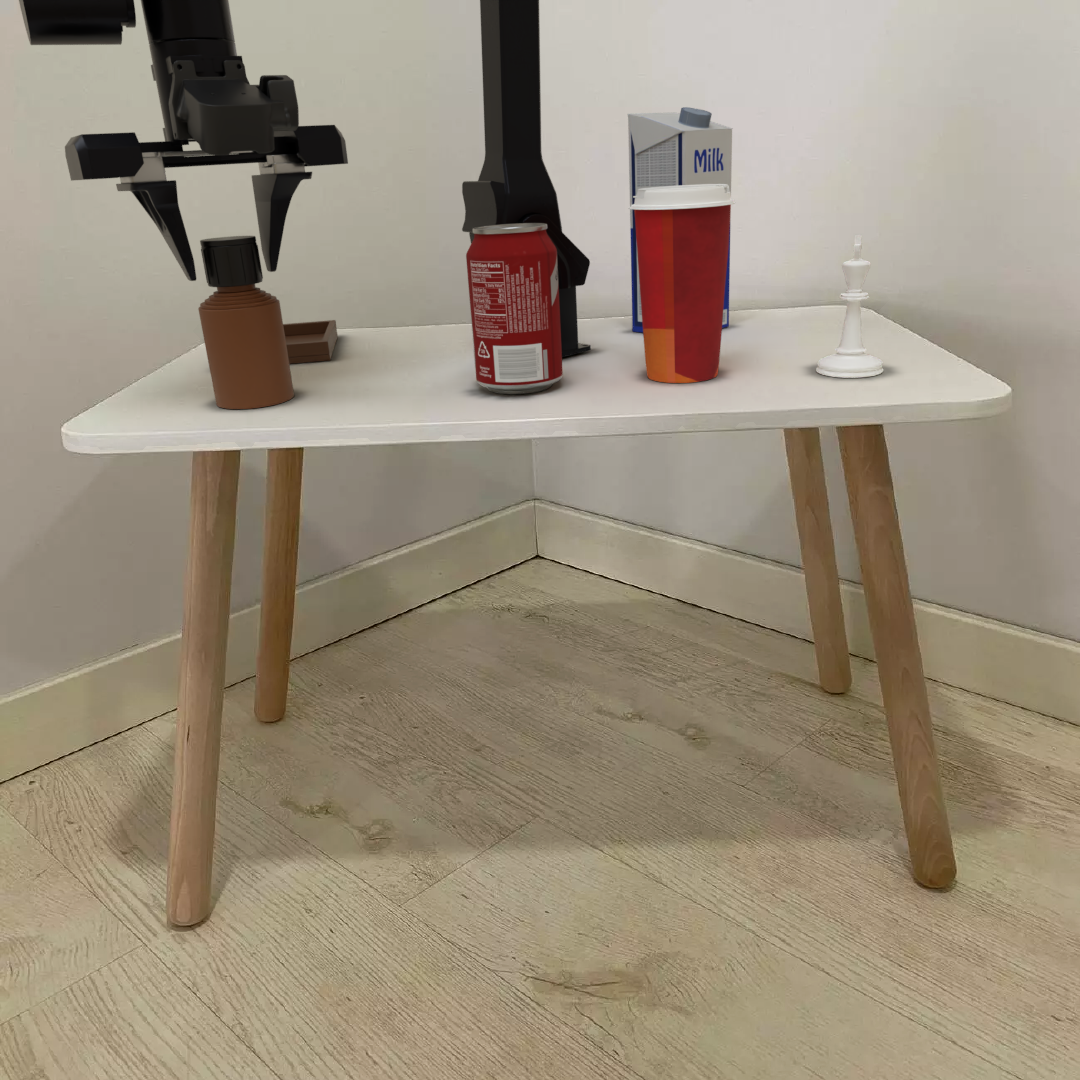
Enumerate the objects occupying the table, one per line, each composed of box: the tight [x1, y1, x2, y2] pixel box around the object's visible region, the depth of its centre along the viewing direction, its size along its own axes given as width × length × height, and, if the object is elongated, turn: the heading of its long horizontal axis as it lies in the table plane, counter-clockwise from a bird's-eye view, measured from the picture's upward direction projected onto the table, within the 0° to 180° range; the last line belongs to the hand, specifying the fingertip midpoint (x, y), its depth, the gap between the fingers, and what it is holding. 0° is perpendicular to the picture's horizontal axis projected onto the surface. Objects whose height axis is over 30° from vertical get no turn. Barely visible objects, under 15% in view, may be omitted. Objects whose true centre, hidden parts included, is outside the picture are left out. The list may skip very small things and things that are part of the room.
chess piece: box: [815, 234, 884, 379], centre depth 71 cm, size 5×5×10 cm
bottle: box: [197, 284, 295, 410], centre depth 73 cm, size 6×6×12 cm
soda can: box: [465, 223, 564, 395], centre depth 72 cm, size 7×7×12 cm
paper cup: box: [628, 184, 736, 384], centre depth 72 cm, size 8×8×14 cm
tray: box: [283, 319, 339, 365], centre depth 94 cm, size 13×10×2 cm
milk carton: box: [627, 106, 734, 334], centre depth 90 cm, size 7×7×20 cm
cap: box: [199, 235, 264, 288], centre depth 71 cm, size 4×4×3 cm
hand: (232, 275), depth 72 cm, fingers open, 6 cm apart
